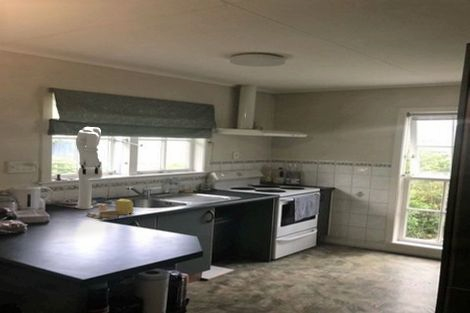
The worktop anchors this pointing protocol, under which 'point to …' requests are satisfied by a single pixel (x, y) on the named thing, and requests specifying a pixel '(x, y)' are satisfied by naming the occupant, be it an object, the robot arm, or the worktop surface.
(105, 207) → the jar
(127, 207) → the yellow rounded block
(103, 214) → the lane
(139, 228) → the worktop surface
